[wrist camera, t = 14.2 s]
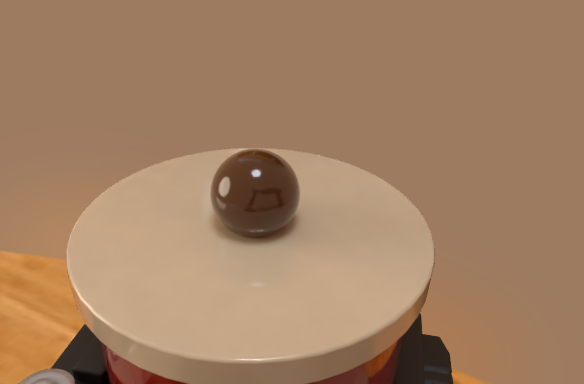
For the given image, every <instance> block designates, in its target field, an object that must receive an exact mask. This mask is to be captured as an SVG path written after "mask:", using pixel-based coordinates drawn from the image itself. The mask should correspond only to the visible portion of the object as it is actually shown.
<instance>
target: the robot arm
mask: <svg viewBox="0 0 584 384" xmlns="http://www.w3.org/2000/svg"><path fill="white" fill-rule="evenodd" d="M451 373H452V370H451V361H450V354H449V352H448V350H447V349H446V347H445V345H444V344H443V342H442V340H441V339H440V337H437V336H431V335H425V334H422V323H421V314H420V313H419V315H418V317H417V318H416V320H415V321H414V322H413V324H412V325H411V326H410V328H409V329H408V330H407V331H406V333H405V334H404V336H403V341H402V346H401V350H400V355H399V360H398V365H397V370H396V374H395V379H394V384H453V379H452V375H451ZM19 384H109V379H108V375H107V370H106V366H105V361H104V357H103V352H102V348H101V343H100V340H99V339H98V338H97V337H96V336H95V334H94V333H93V332H92V331H91V330H90V329H89V328H88V326H87V325H85V324H84V326H83V327H82V328H81V330H80V331H79V332H78V334H77V335H76V336H75V338H74V339H73V340H72V341H71V343H70V344H69V345H68V347H67V348H66V349H65V351H64V352H63V353H62V355H61V356H60V357H59V359H58V360H57V361H56V363H55V364H54V365H53V366H52V368H51V369H46V370H42V371H39V372H36V373H34V374H32V375H30V376H28V377H27V378H25V379H24V380H23V381H21V382H20V383H19Z"/></svg>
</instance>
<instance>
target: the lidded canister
mask: <svg viewBox="0 0 584 384" xmlns="http://www.w3.org/2000/svg"><path fill="white" fill-rule="evenodd" d="M434 251H435V249H434V244H433V239H432V235H431V232H430V230H429V228H428V225H427V223H426V221H425V219H424V218H423V216H422V215H421V213H420V212H419V210H418V209H417V208H416V207H415V205H414V204H413V203H412V202H411V201H410V200H409V199H408V198H407V197H406V196H405V195H403V194H402V193H401V192H400V191H399V190H398V189H396V188H395V187H393V186H392V185H390V184H389V183H387V182H386V181H384V180H383V179H381V178H379V177H377V176H375V175H373V174H372V173H369V172H367V171H365V170H363V169H360V168H358V167H356V166H353V165H351V164H348V163H345V162H342V161H339V160H335V159H332V158H328V157H325V156H320V155H315V154H310V153H306V152H299V151H292V150H282V149H268V148H239V149H237V148H236V149H224V150H215V151H208V152H201V153H196V154H191V155H186V156H182V157H178V158H174V159H170V160H167V161H164V162H161V163H158V164H155V165H152V166H150V167H147V168H145V169H143V170H140V171H138V172H135V173H134V174H132V175H130V176H128V177H126V178H124V179H122V180H120V181H119V182H117V183H116V184H114V185H113V186H111V187H110V188H108V189H107V190H106V191H104V192H103V193H102V194H101V195H99V196H98V197H97V198H96V199H95V200H94V201H93V202H92V203H91V204H90V205H89V206H88V207H87V208H86V209H85V210H84V211H83V213H82V214H81V216H80V218H79V219H78V220H77V222H76V223H75V225H74V228H73V230H72V233H71V235H70V237H69V242H68V247H67V251H66V265H67V273H68V277H69V281H70V285H71V289H72V293H73V297H74V300H75V303H76V307H77V309H78V311H79V313H80V315H81V317H82V318H83V320H84V322H85V324H86V325H87V326H88V328H89V329H90V330H91V331H92V332H93V333H94V334H95V336H96V337H97V338H98V339H99V340H100V343H101V348H102V352H103V357H104V361H105V366H106V370H107V375H108V379H109V384H394V379H395V374H396V370H397V365H398V360H399V355H400V350H401V346H402V341H403V336H404V334H405V333H406V331H407V330H408V329H409V328H410V326H411V325H412V324H413V322H414V321H415V320H416V318H417V317H418V315H419V313H420V311H421V309H422V307H423V305H424V303H425V301H426V297H427V293H428V289H429V284H430V280H431V276H432V271H433V267H434V256H435V252H434Z"/></svg>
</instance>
